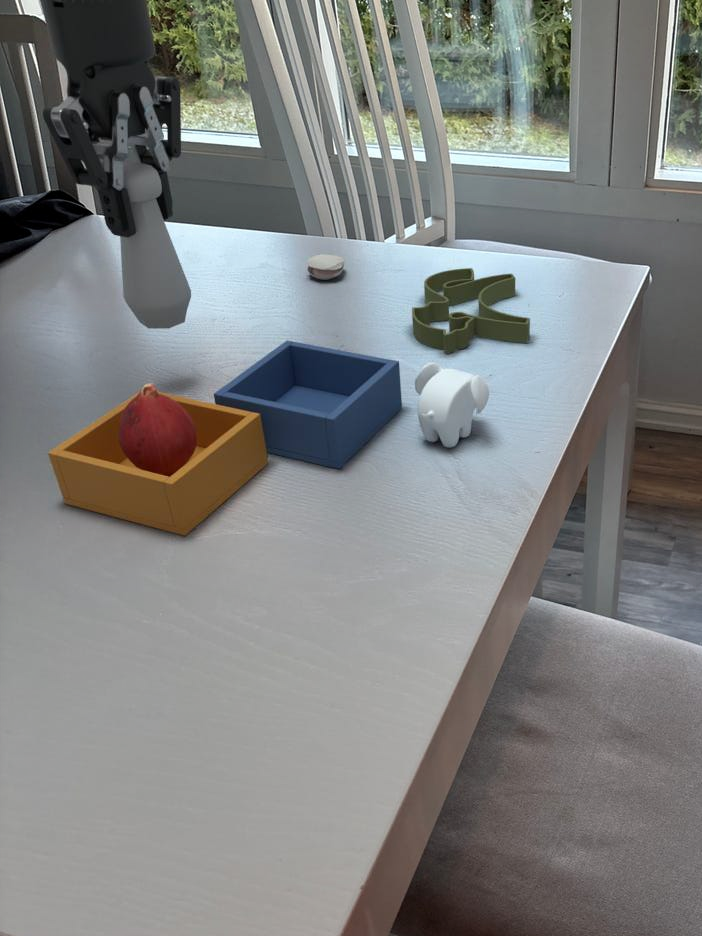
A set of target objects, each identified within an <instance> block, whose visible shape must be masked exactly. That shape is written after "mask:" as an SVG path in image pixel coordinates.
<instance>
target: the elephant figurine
mask: <svg viewBox="0 0 702 936" xmlns="http://www.w3.org/2000/svg"><path fill="white" fill-rule="evenodd" d="M415 376H416V377H415V379H414V388H415V392H416V393H417V394H418V395H419V398H418V402H417V418H418V423H419V426H420V429H421V432H422V435H423V436H424V438H425V439H426V440H427V442H431V443H435V442H437V441H438V440H439V439H440V441H441V443H442V445H443V446H444V447H445V448H454V447H456V446H457V444H458V442H459V439H460V438H468V437H469V436H470V434H471V429H472V421H473V416H474V413H475V414H476V415H479V414H481V413H482V412H483V411H484V409H485V407H486V406H487V404H488V402H489V397H490V391H489V390H490V389H489V386H488V384H487V383H486V380H484V378H482V377H481V375H478V374H473V373H470V372H465V371H462V370H459V369H455V368H442V367H441V366H440V365H439V364H438V363H436V362H434V361H431V362H428V363H426V364H425V365H424V366H422V367H421V369H420V370H419V371H418V373H417V374H416V375H415Z"/></svg>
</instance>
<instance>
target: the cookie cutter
mask: <svg viewBox="0 0 702 936" xmlns="http://www.w3.org/2000/svg"><path fill="white" fill-rule="evenodd" d="M423 288H424V289H423V290H424V303H425V305H424V306H418V307H413V306H412V307H411V317H412V319H411V320H412V332H413V333H412V334H413V335H414V337H415V339H416V340H417V341H418V342H420V343H421V344H423V345H425V346H428V347H431V348H435V349H440V350H443V353H444V355H450V354H452V353H453V352H455V351H456V350H464V349H466V348H468V346H469V342H470V341H471V340H473V339H474V338H475V337H479V338H484V339H489V340H493V341H494V340H495V341H501V342H502V341H503V342H511V343H521V344H528V343H529V340H530V334H531V333H530V332H531V318H530V317H526V316H519V315H514V314H510V313H509V314H508V313H505V312H501V311H499V310H496V309H493V308H492V307H490V305H492V304H494V303H496V302H498V301H501V300H503V299H507V298H511V297H516V277H515V275H514V273H503V274H496V275H495V274H494V275H490V276H486V277H481V278H477V279H475V271H474V269H473V268H472V267H467V268H465V267H464V268H455V269H448V270H443V271H440V272H437V273H434V274H432V275H430V276H428V277H427V278H425V280H424V281H423ZM442 291H443V293H442V294H441V293H439V292H442ZM476 299H478V316H477V315H473V314H469V313H466V312H464V311H455V312H451V313H450V307H451V306H455V305H456V306H457V305H459V304H463V303H465V302H469V301H472V300H476ZM446 321H448V329H449V330H448V331H449V332H448V333H447V329H445V328H439V327H434V326H430V323H431V322H446Z"/></svg>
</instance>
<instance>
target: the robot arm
mask: <svg viewBox="0 0 702 936" xmlns="http://www.w3.org/2000/svg"><path fill="white" fill-rule="evenodd" d="M39 3H40V5H41V10H42V13H43V17H44V21H45V26H46V29H47V33H48V38H49V42H50V46H51V51H52V54H53V56H54V58H55V59H56V61H57V62H59V63H60V64H61V65H62V66H63V68H64V69H65V72H66V77H67V83H66V85H67V86H66V95H67V97H66V98H65V100H63V101H62V102H61V103H60V104H59V105H58V106H49V105H48V106H45V107H44V108H43V110H42V118H43V120H44V122H45V124H46V126H47V128H48V130H49V133H50V135H51V136H52V139H53V141H54V143H55V145H56V147H57V149H58V151H59V153H60V156H61V157H62V159H63V162H64V164H65V166H66V168H67V170H68V172H69V174H70V176H71V178H72V180H73V182H74V183H75V184H76V185H80V186H90V187H93V188H95V189H96V191H97V193H98V194H97V195H98V197H99V201H100V205H101V210H102V214H103V217H104V223H105V225H106V227H107V229H108V230H109V231H110V233H111V234H112V235H114V236H117V237H120V236H122V237H131V236H133V235H135V234H136V227H135V223H134V218H133V214H132V209H131V205H130V200H129V196H128V191H127V189H126V188H123V187H124V164H125V159H127V158H128V156H129V147H130V149H131V151H132V153H133V156H134V159H135V161H136V163H143V164H147V165H151V166H152V167H153V168H154V169H156V171H157V172H158V174H159V177H160V179H161V185H162V193H161V194H160V196H159V197H157V198H156V200H157V203H158V206H159V209H160V211H161V214H162V217H163V220H164V221H167V220H169V219H171V218H173V215H174V211H173V204H174V203H173V197H172V192H171V186H170V181H169V177H168V171H169V170H170V166H171V163H170V162H171V161H172V160H173V159H179V158H180V157H181V154H182V124H181V123H182V118H181V117H182V115H181V114H182V113H181V112H182V109H181V108H182V107H181V106H182V105H181V103H182V102H181V82H180V81H179V79H178V78H177V77H169V76H159V75H155V74H154V72H153V70H152V68H151V66H150V63H149V61H150V60H151V59H153V57H154V56H155V54H156V44H155V38H154V34H153V28H152V24H151V22H152V21H151V18H150V12H149V6H148V2H147V0H39ZM164 125H166V131H167V132H166V133H167V136H166V137H167V140H164V139H165V135H164V132H163V126H164ZM100 140H101V141H102V140H104V141H109V142H111V143H110V145H106V144H102V142H101V141H100ZM105 158H107V159H108V160H107V161H108V171H109V172H108V171H105Z"/></svg>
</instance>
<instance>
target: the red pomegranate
mask: <svg viewBox="0 0 702 936" xmlns="http://www.w3.org/2000/svg"><path fill="white" fill-rule="evenodd" d="M138 392H139V394H138V395H137V396H136V397H135V398H134V399H133V400H131V401H130V402H129V403H128V405H127V406H126V407H125V409H124V411H123V413H122V415H121V418H120V424H119V432H118V436H119V444H120V446H121V448H122V451H123V453H124V454H125V455H126V457H127V458H128V459H129V460H130V461H131V462H132V463H133V464H134V465H135V466H136V467H137V468H139V469H142V470H144V471H148V472H152V473H156V474H160V475H164V476H168V477H170V476H172V475H173V474H174V473H175V472H177V471H178V470H179V469H180V468H181V467H182V466H184V465H185V464H186V462H187V461H188V460H189V459H190V458H191V456H192V455H193V453H194V451H195V448H196V445H197V436H196V428H195V425H194V422H193V420H192V418H191V417H190V415H189V414H188V412H187V411H186V410H185V409H184V408H183V407H182V406H181V405H180V404H179V403H177V402H176V401H175V400H173V399H171V398H169V397H167V396H164V395H161V394H158V393H157V392H158V388H157V386H156V385H155V384H154V383H153V382H151V383H145V384H144V385H143V386H142V388H141V389H140V391H138Z"/></svg>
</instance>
